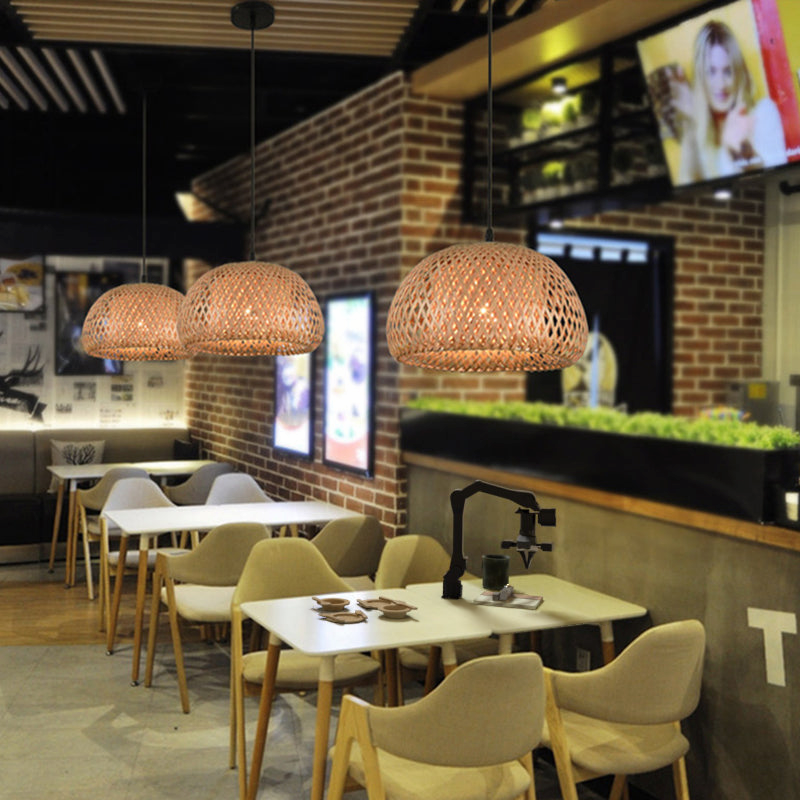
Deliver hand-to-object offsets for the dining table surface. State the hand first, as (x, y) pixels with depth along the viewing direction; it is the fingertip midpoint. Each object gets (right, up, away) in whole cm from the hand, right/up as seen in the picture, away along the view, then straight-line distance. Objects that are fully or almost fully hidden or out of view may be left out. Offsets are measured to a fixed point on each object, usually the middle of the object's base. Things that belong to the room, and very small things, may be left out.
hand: (527, 569), depth 373 cm
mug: (-10, -11, +27) cm, 31 cm away
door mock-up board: (-6, -12, +1) cm, 13 cm away
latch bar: (-8, -10, 0) cm, 13 cm away
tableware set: (-59, -11, -23) cm, 64 cm away
